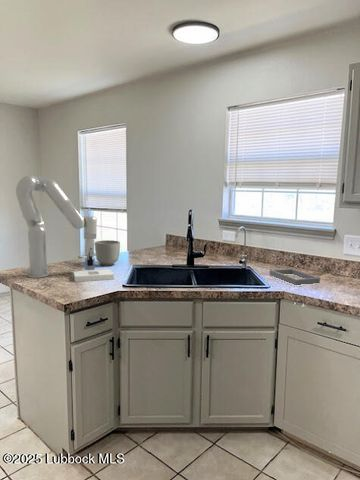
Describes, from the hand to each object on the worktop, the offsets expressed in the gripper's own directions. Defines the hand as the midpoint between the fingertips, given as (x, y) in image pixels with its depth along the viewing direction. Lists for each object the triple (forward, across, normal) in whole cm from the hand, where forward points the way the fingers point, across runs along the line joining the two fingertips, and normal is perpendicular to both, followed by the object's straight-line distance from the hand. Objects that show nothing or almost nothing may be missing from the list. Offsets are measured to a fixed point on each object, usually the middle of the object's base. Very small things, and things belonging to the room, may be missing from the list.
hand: (89, 264), depth 229 cm
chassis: (+5, +12, +1) cm, 14 cm away
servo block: (+3, 0, 0) cm, 3 cm away
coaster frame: (+2, +49, +118) cm, 128 cm away
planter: (+5, -22, +15) cm, 27 cm away
